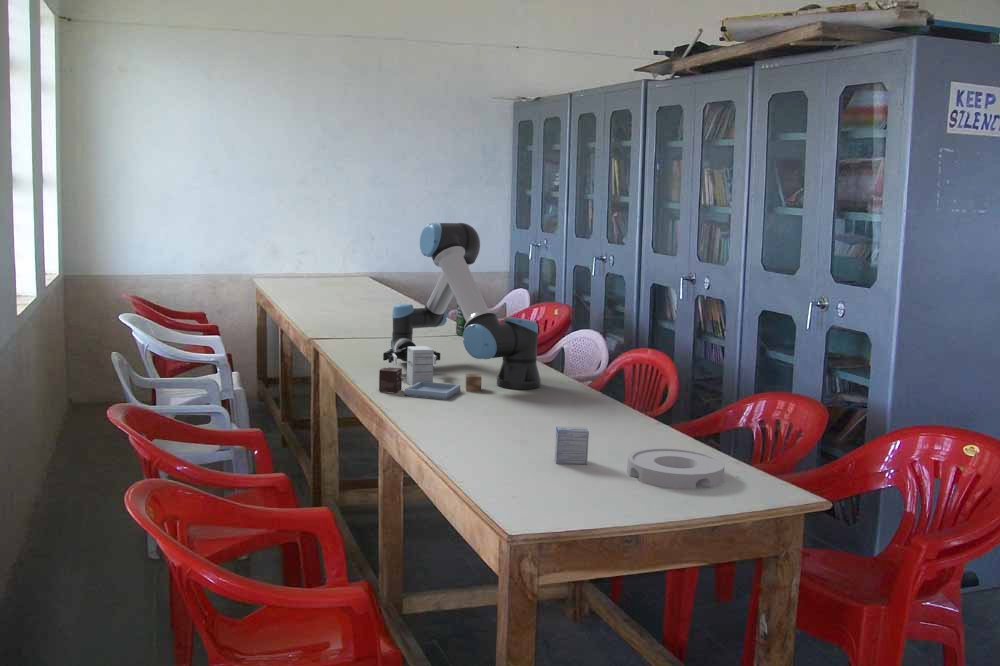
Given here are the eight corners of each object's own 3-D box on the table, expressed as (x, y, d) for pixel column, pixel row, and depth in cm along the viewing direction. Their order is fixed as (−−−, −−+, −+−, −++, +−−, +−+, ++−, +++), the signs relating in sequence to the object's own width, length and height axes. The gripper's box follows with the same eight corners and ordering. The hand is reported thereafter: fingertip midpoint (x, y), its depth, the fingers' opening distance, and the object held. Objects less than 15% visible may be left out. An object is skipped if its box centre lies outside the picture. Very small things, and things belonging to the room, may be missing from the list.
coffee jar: (453, 334, 449) (454, 293, 446) (469, 333, 453) (470, 293, 450) (462, 337, 441) (463, 295, 438) (478, 336, 444) (479, 295, 441)
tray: (460, 391, 326) (460, 385, 326) (446, 400, 312) (446, 393, 312) (419, 387, 329) (420, 381, 329) (404, 395, 316) (405, 389, 316)
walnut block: (480, 388, 333) (480, 373, 332) (481, 391, 328) (481, 376, 327) (465, 388, 332) (465, 373, 331) (466, 391, 327) (466, 376, 326)
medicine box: (585, 460, 250) (587, 426, 249) (587, 465, 246) (589, 431, 244) (554, 459, 250) (555, 425, 248) (555, 464, 245) (557, 430, 244)
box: (396, 393, 319) (396, 371, 318) (378, 392, 320) (378, 369, 319) (401, 390, 325) (402, 368, 324) (384, 388, 326) (384, 366, 325)
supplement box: (406, 382, 337) (406, 346, 335) (426, 382, 339) (428, 345, 338) (411, 387, 330) (412, 349, 328) (433, 386, 333) (434, 349, 331)
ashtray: (714, 496, 225) (716, 479, 225) (616, 482, 234) (617, 465, 233) (730, 471, 247) (731, 455, 246) (639, 458, 255) (640, 443, 254)
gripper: (439, 359, 365) (450, 370, 344) (371, 360, 358) (379, 371, 338) (440, 339, 364) (451, 349, 343) (372, 339, 357) (379, 349, 337)
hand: (415, 360), depth 341 cm, fingers open, 13 cm apart
